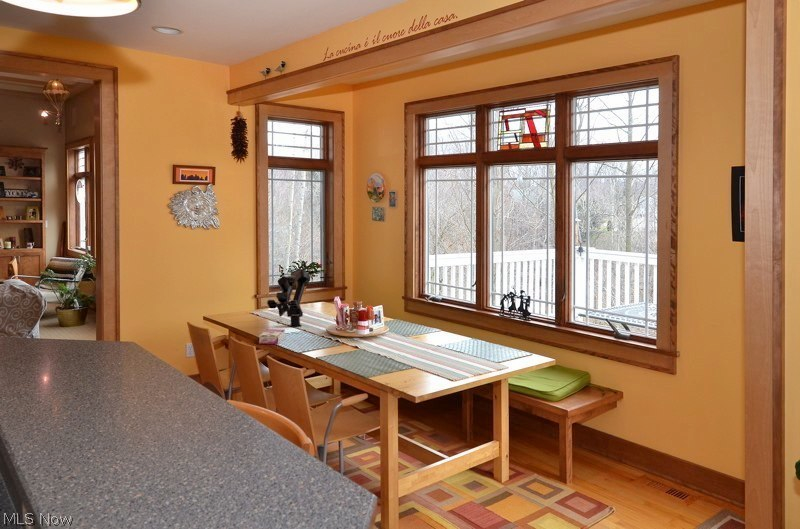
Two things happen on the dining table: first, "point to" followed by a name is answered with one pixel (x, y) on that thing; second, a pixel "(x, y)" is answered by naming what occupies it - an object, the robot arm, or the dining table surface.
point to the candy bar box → (271, 336)
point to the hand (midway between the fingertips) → (280, 316)
